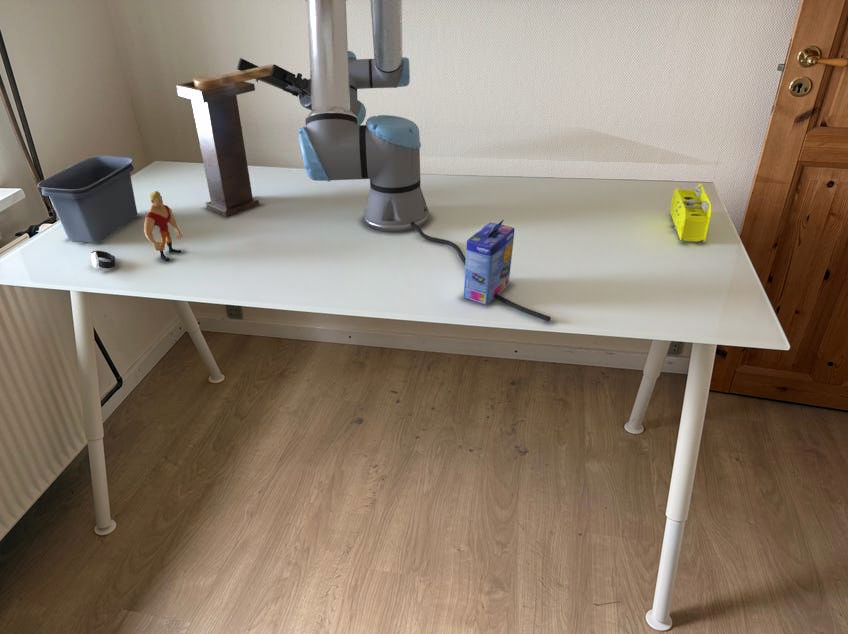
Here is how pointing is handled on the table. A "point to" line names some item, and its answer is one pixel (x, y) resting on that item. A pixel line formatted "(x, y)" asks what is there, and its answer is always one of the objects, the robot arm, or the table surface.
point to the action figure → (160, 224)
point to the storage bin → (93, 197)
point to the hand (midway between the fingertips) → (255, 66)
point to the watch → (102, 264)
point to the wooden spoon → (231, 77)
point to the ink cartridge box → (488, 262)
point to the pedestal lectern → (222, 145)
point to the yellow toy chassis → (691, 213)
